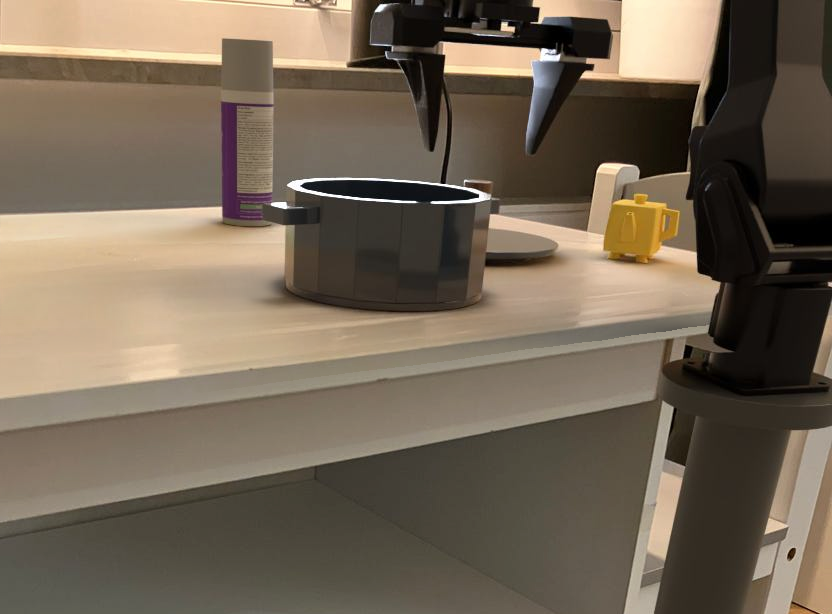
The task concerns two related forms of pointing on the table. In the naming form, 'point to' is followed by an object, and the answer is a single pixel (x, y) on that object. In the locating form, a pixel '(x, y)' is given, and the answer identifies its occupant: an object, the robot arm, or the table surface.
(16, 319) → the table surface
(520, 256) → the lid
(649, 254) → the teapot
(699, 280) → the table surface
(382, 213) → the pot
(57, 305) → the table surface
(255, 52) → the container
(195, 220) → the table surface
